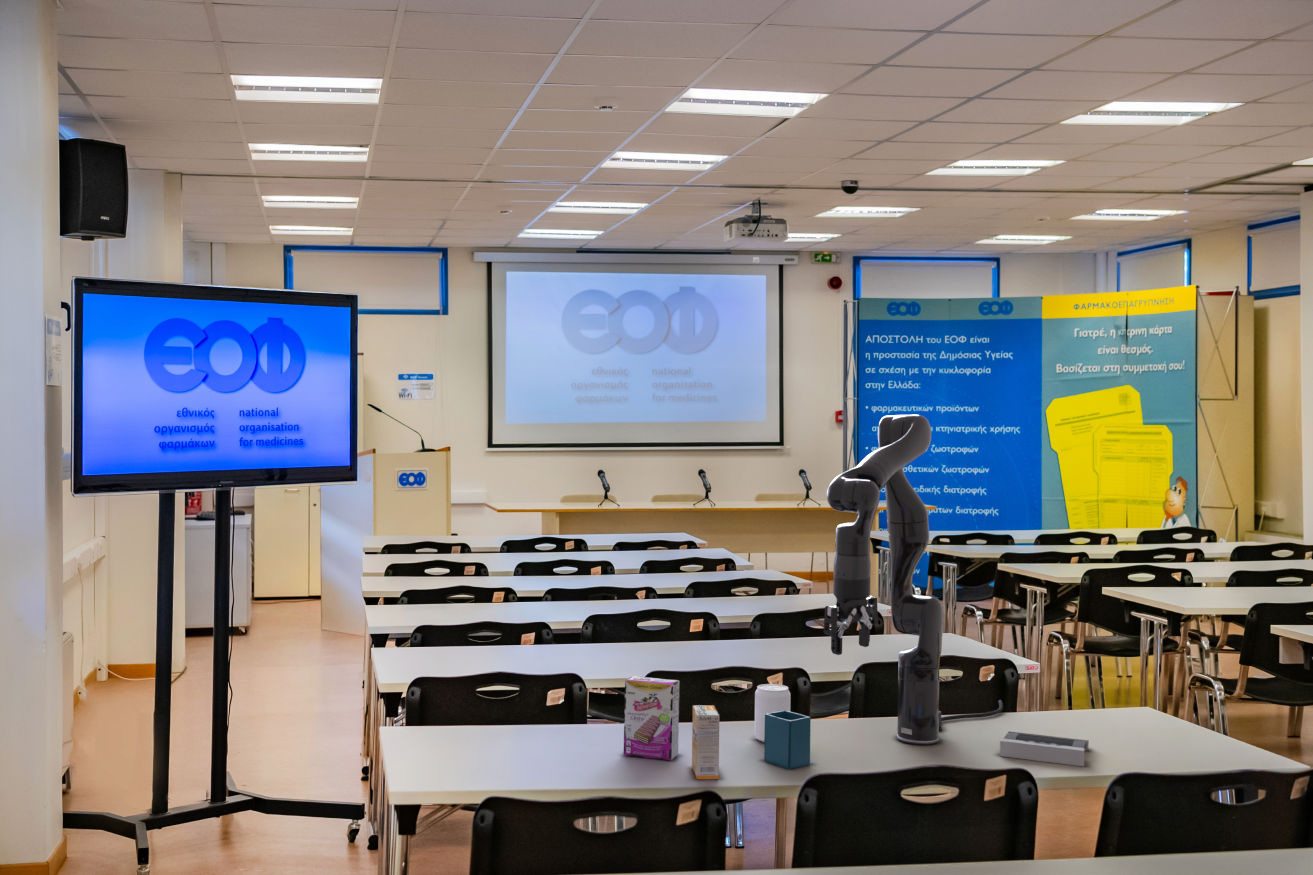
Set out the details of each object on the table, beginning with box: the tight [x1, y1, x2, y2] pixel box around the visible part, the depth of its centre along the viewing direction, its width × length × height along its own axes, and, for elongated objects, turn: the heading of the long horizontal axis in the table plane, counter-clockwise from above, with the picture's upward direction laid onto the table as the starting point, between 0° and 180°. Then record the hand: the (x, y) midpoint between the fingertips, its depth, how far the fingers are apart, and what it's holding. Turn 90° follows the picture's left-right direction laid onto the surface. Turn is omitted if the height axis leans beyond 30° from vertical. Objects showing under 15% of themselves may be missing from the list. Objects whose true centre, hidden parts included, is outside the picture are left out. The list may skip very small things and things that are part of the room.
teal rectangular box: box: [763, 710, 812, 770], centre depth 233 cm, size 10×6×8 cm
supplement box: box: [691, 704, 720, 780], centre depth 224 cm, size 8×5×13 cm, turn 5°
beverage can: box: [753, 683, 792, 743], centre depth 251 cm, size 8×8×12 cm
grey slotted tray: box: [999, 730, 1090, 767], centre depth 244 cm, size 17×5×16 cm
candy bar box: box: [623, 675, 681, 761], centre depth 237 cm, size 11×5×16 cm, turn 71°
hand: (850, 649), depth 229 cm, fingers open, 8 cm apart
